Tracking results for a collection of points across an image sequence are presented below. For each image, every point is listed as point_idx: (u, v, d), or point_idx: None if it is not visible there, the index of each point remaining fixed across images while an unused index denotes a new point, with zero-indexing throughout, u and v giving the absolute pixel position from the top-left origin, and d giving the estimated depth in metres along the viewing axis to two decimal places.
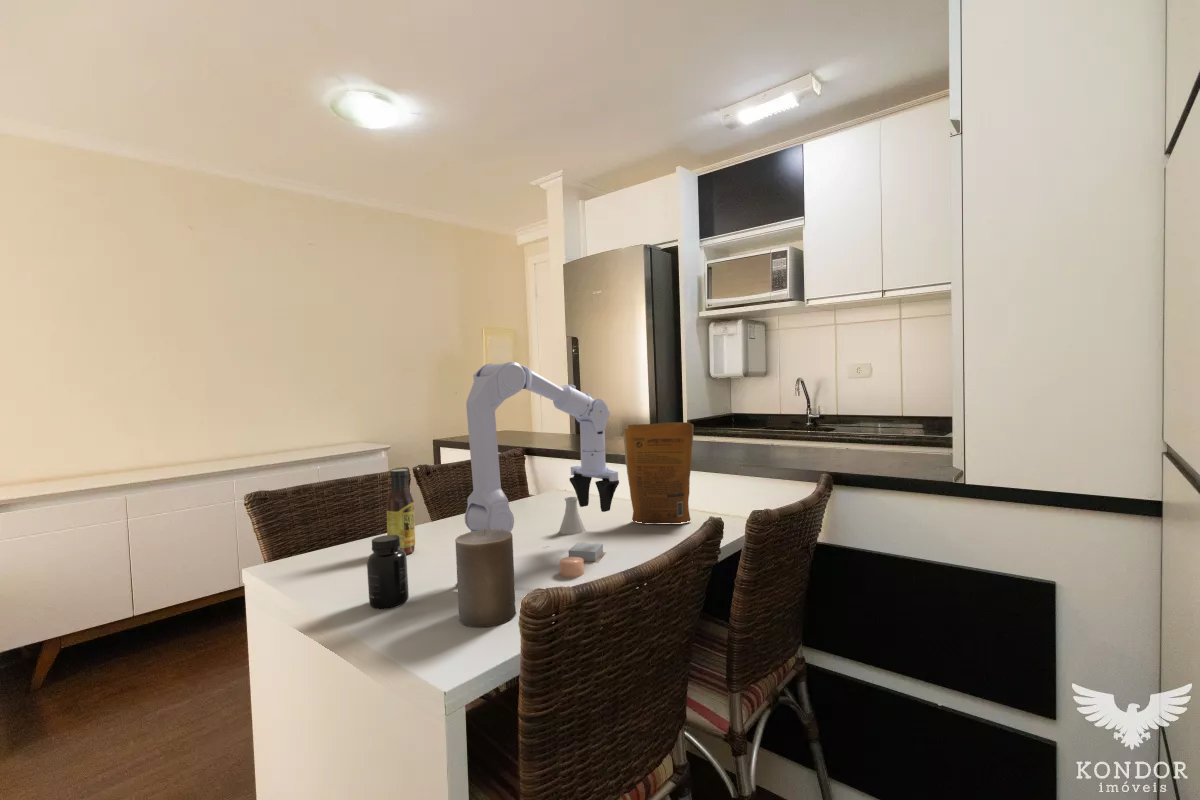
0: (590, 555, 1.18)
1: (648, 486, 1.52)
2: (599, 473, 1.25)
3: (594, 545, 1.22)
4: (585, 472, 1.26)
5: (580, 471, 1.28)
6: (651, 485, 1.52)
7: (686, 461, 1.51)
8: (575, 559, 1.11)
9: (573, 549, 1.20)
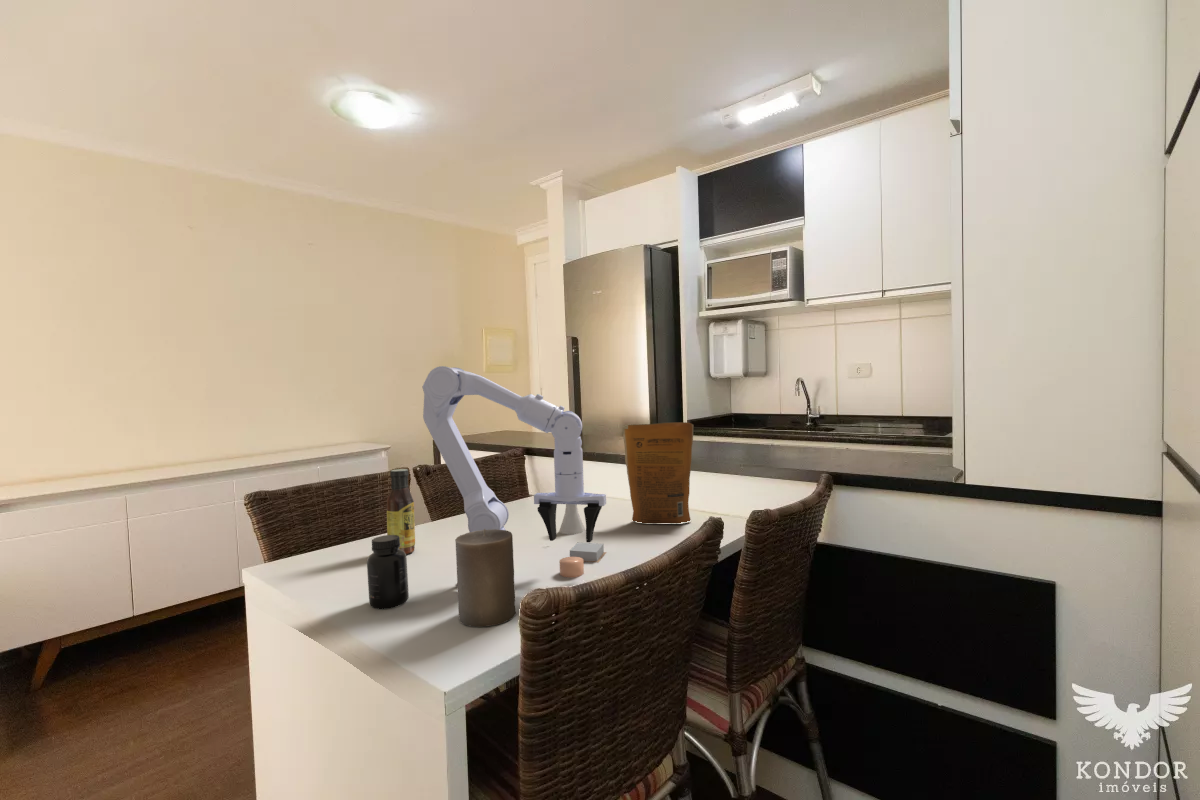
0: (591, 555, 1.18)
1: (648, 486, 1.52)
2: (586, 498, 1.08)
3: (595, 545, 1.22)
4: (567, 499, 1.07)
5: (558, 498, 1.08)
6: (651, 485, 1.52)
7: (686, 461, 1.51)
8: (575, 559, 1.11)
9: (574, 549, 1.20)
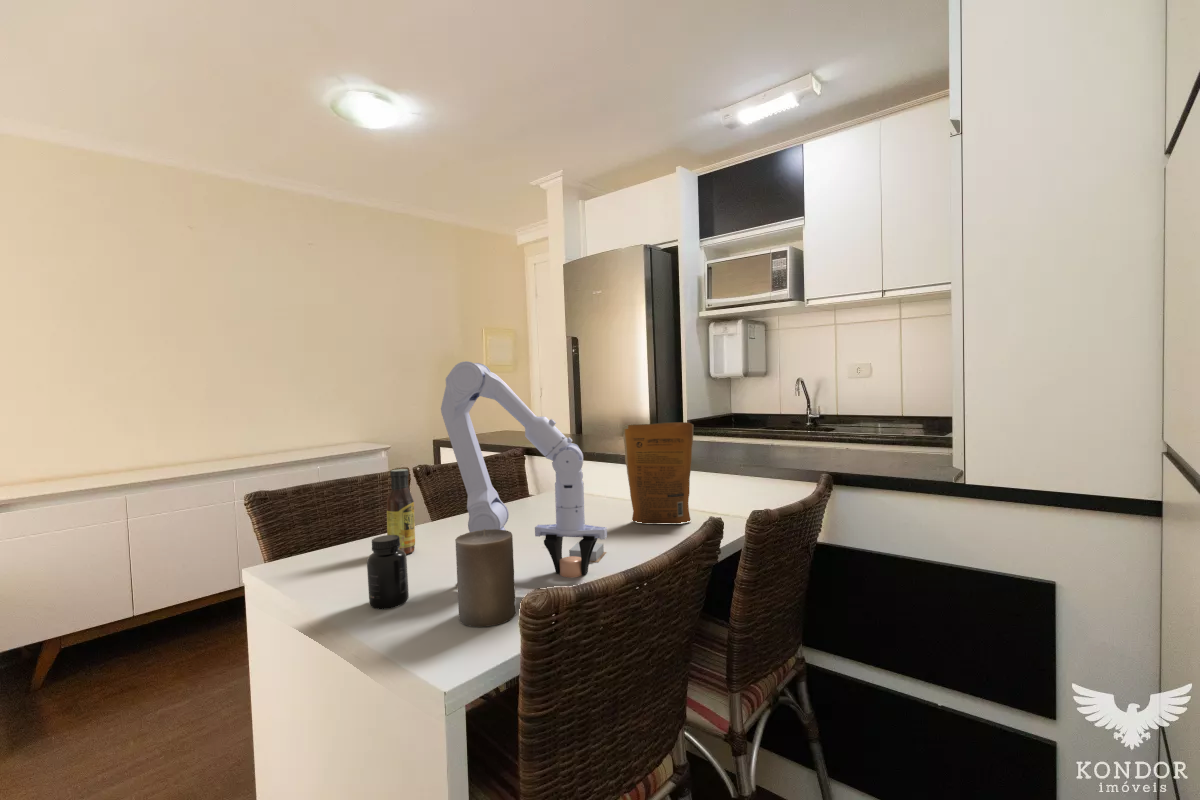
0: (591, 555, 1.18)
1: (648, 486, 1.52)
2: (587, 532, 1.08)
3: (595, 545, 1.22)
4: (568, 532, 1.08)
5: (559, 532, 1.08)
6: (651, 485, 1.52)
7: (686, 461, 1.51)
8: (575, 559, 1.11)
9: (574, 549, 1.20)
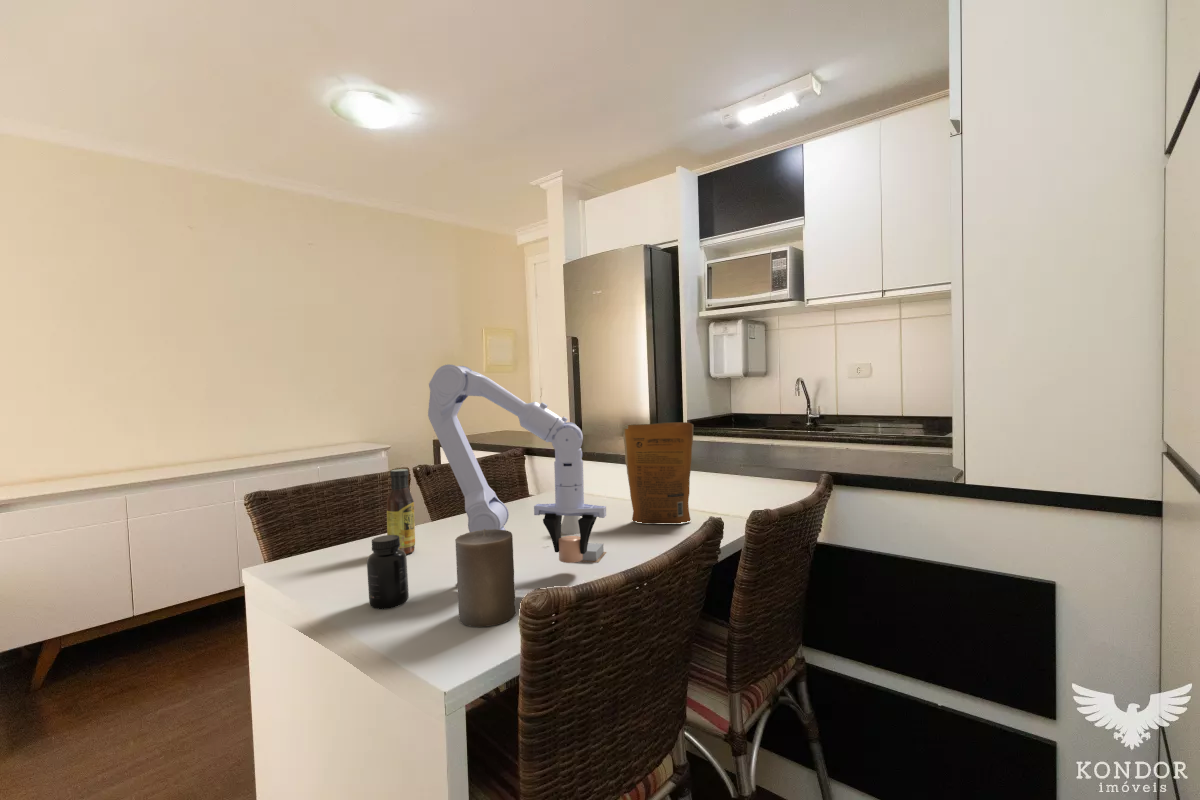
0: (591, 555, 1.18)
1: (648, 486, 1.52)
2: (586, 510, 1.08)
3: (595, 545, 1.22)
4: (568, 511, 1.08)
5: (558, 510, 1.08)
6: (651, 485, 1.52)
7: (686, 460, 1.51)
8: (574, 538, 1.11)
9: None
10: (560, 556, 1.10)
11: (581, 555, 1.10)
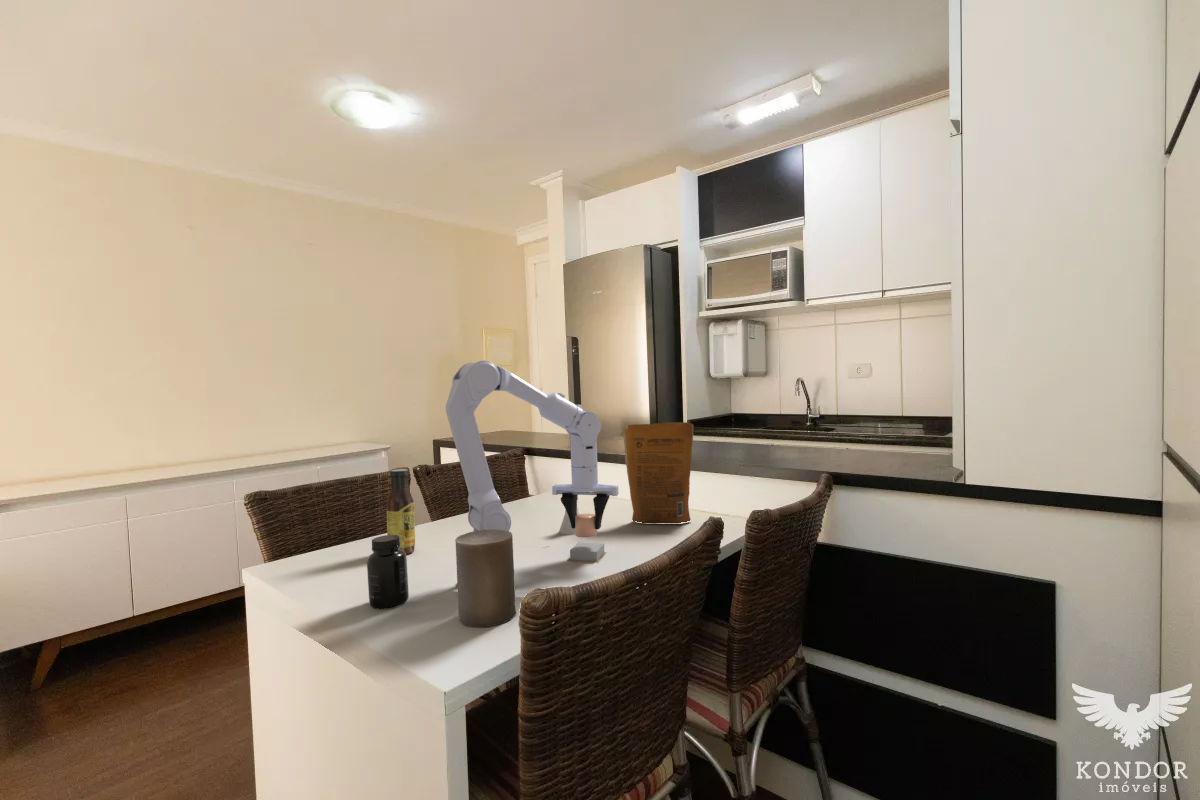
0: (592, 555, 1.18)
1: (648, 486, 1.52)
2: (600, 489, 1.18)
3: (596, 545, 1.22)
4: (583, 490, 1.18)
5: (574, 489, 1.19)
6: (651, 485, 1.52)
7: (686, 461, 1.51)
8: (589, 515, 1.21)
9: (575, 549, 1.20)
10: (576, 531, 1.20)
11: (596, 530, 1.20)
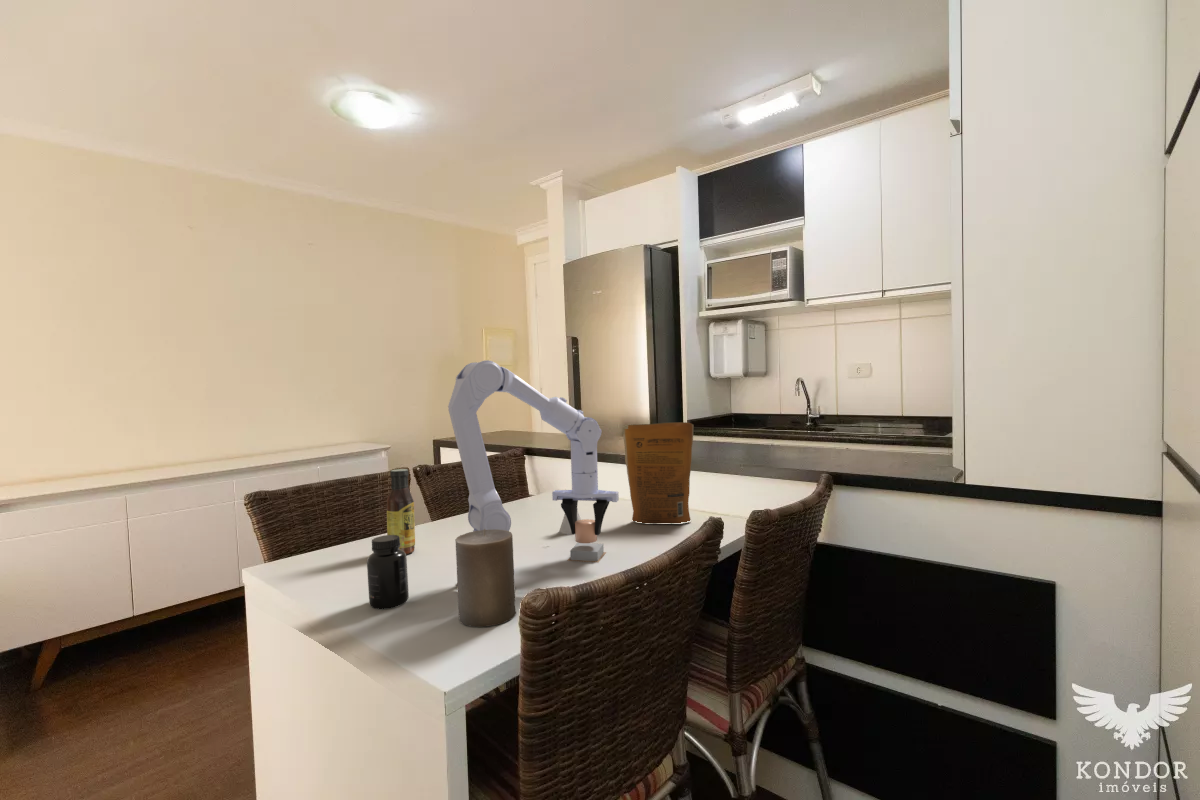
0: (592, 555, 1.18)
1: (648, 486, 1.52)
2: (600, 495, 1.18)
3: (595, 545, 1.23)
4: (583, 495, 1.18)
5: (574, 495, 1.19)
6: (651, 485, 1.52)
7: (686, 461, 1.51)
8: (589, 521, 1.21)
9: (575, 549, 1.20)
10: (576, 537, 1.20)
11: (596, 536, 1.20)
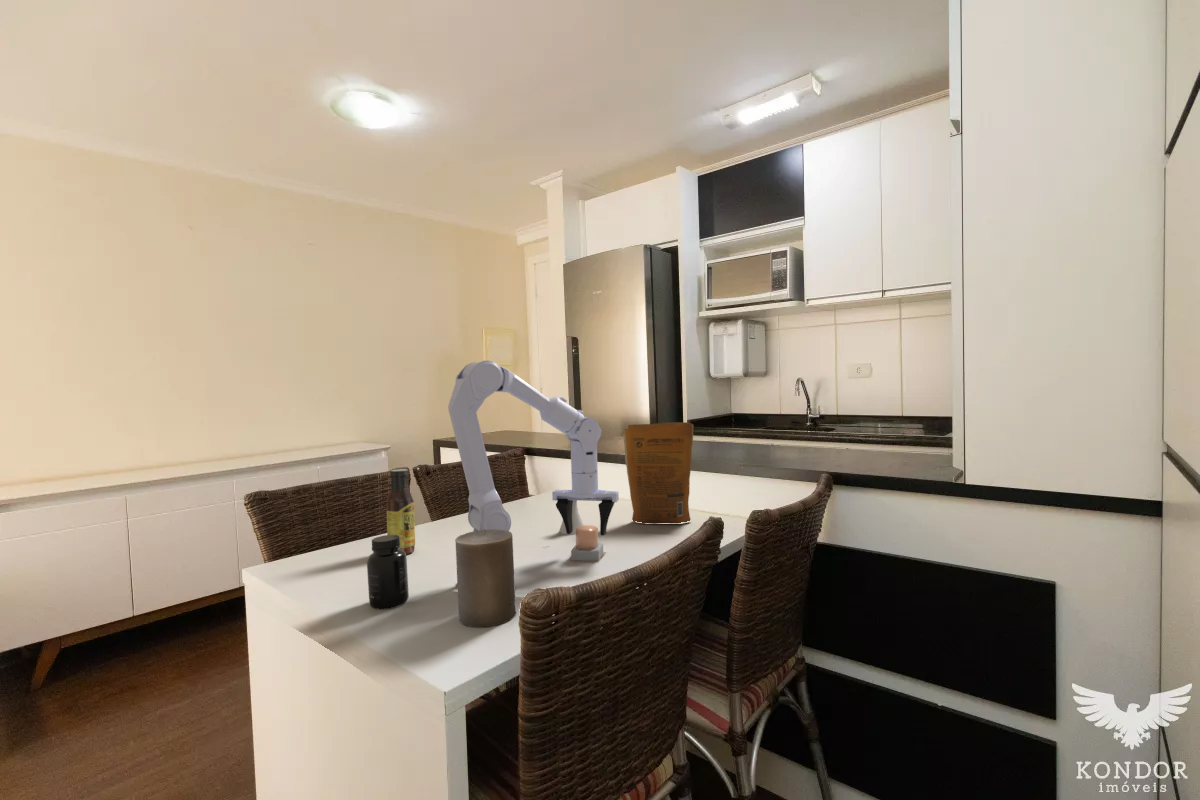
0: (593, 555, 1.18)
1: (648, 486, 1.52)
2: (600, 495, 1.18)
3: None
4: (583, 495, 1.18)
5: (574, 495, 1.19)
6: (651, 485, 1.52)
7: (686, 461, 1.51)
8: (590, 528, 1.22)
9: (575, 549, 1.20)
10: (577, 544, 1.20)
11: (596, 543, 1.21)
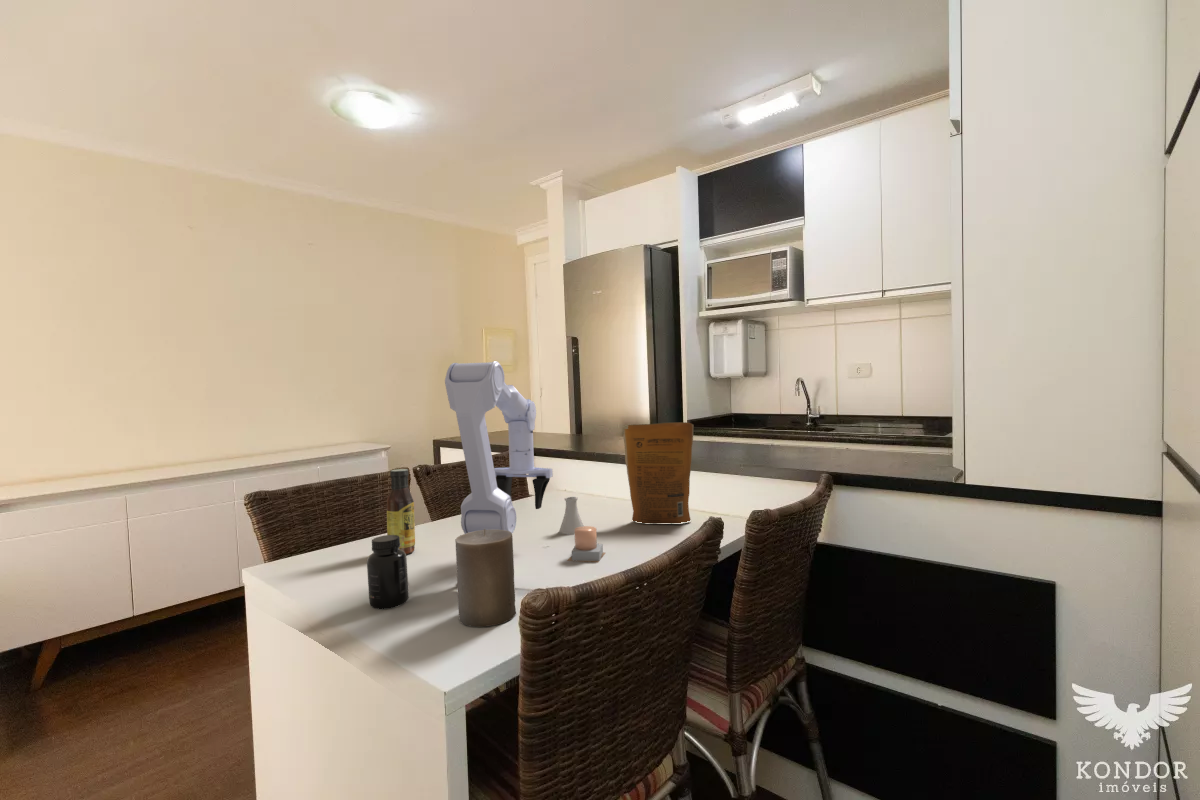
0: (594, 555, 1.18)
1: (648, 486, 1.52)
2: (535, 471, 1.28)
3: None
4: (519, 472, 1.27)
5: (511, 471, 1.28)
6: (651, 485, 1.52)
7: (686, 461, 1.51)
8: (589, 528, 1.22)
9: (576, 550, 1.20)
10: (576, 544, 1.20)
11: (595, 543, 1.21)
